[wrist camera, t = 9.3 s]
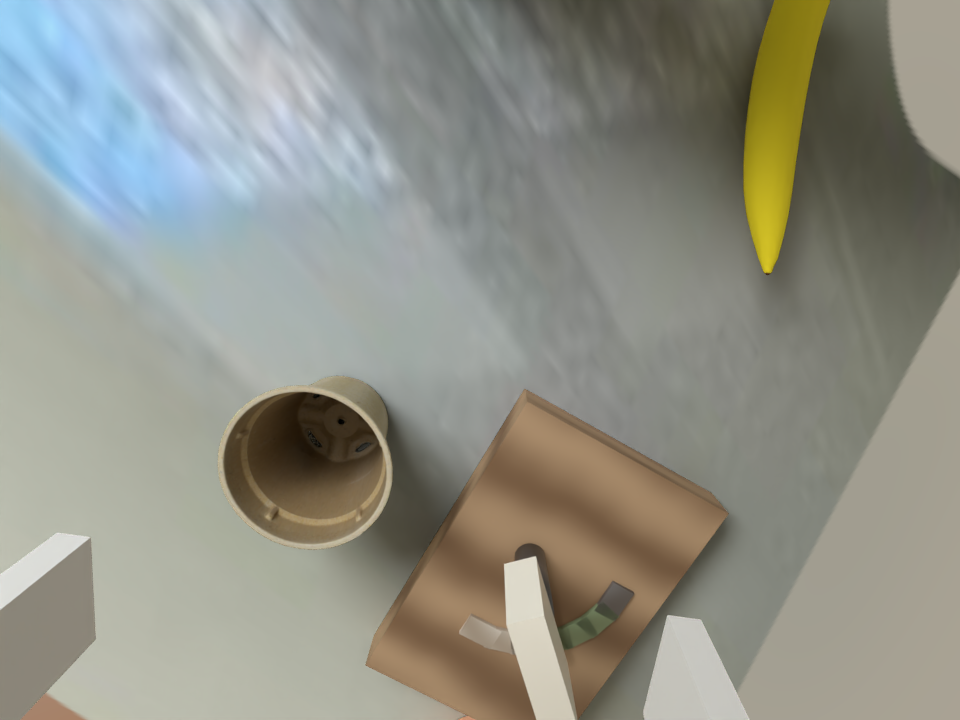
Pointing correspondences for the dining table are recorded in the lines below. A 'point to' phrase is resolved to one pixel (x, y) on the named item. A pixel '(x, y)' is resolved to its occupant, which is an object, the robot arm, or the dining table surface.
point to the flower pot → (308, 463)
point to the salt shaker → (466, 718)
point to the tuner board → (569, 558)
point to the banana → (778, 119)
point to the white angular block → (537, 635)
